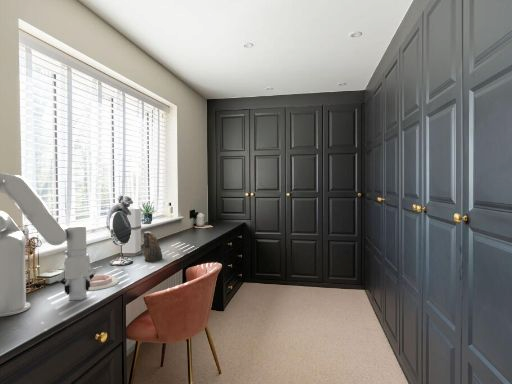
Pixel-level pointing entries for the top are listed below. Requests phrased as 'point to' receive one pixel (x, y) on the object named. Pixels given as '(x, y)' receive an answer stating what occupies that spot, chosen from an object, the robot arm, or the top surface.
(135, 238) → the white tall boxy piece
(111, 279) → the vanity tray
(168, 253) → the top surface
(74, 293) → the skincare box
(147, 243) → the rock
